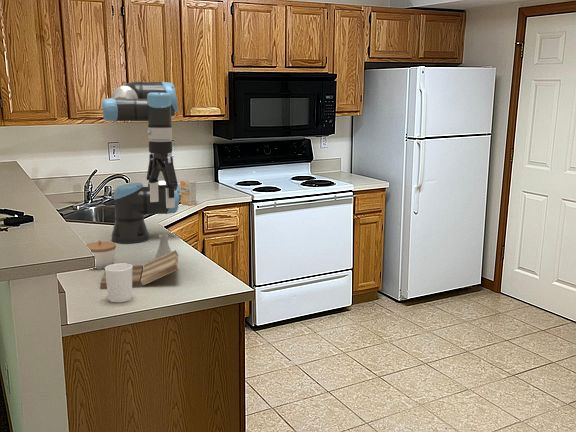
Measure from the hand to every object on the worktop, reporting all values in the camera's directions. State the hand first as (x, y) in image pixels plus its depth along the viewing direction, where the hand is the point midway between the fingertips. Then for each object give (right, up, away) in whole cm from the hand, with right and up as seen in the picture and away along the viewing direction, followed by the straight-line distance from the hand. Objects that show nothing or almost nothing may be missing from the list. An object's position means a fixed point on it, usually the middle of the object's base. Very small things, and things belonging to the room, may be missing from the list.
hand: (162, 204), depth 195 cm
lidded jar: (-25, -22, +13) cm, 35 cm away
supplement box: (-13, +3, +128) cm, 128 cm away
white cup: (-9, -29, -19) cm, 36 cm away
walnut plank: (-13, -25, -1) cm, 28 cm away
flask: (-3, -21, +20) cm, 29 cm away
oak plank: (0, -22, +1) cm, 22 cm away
